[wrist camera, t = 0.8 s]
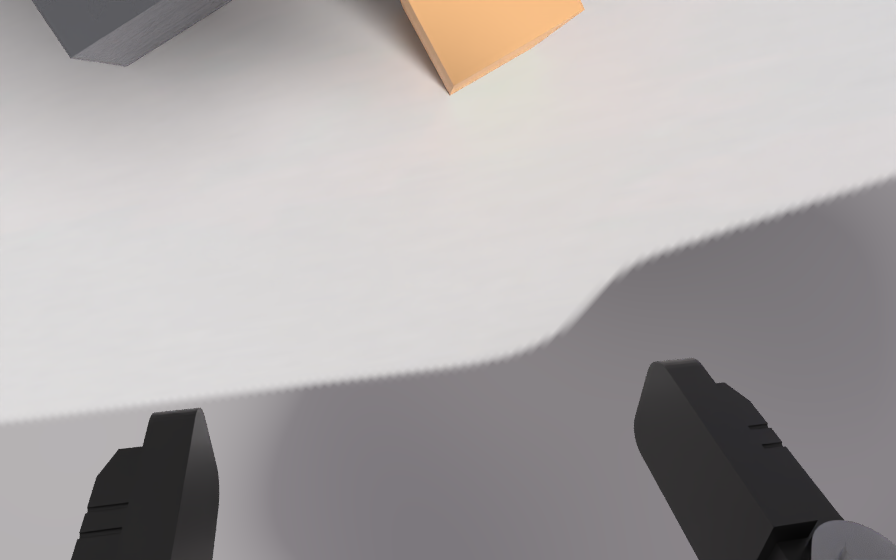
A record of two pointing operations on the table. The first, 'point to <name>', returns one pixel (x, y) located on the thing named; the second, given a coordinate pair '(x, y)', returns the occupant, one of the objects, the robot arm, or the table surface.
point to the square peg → (483, 32)
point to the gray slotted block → (120, 25)
